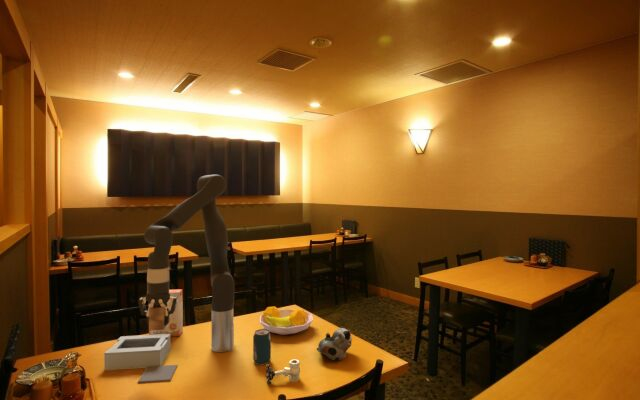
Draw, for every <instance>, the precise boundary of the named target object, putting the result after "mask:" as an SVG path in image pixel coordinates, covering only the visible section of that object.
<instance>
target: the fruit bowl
mask: <svg viewBox="0 0 640 400" xmlns="http://www.w3.org/2000/svg"><path fill="white" fill-rule="evenodd" d="M313 321H314V319H313V313H310V312H308V311H305V310H304V309H291V308H290V309H289V308H283V309H278V307H276V306H267V307H266V308H265V310H264V311H263V313H262V314H261V315H260V316H259V322H260V325H261V326H262V327H263V329H266V330H269V333H275V334H277V335H281V336H286V335H291V334H297V333H301V332H303V331H306V330H308V328H309V327H310V325H311V324H312V323H313Z"/></svg>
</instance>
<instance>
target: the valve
mask: <svg viewBox="0 0 640 400" xmlns="http://www.w3.org/2000/svg"><path fill="white" fill-rule="evenodd" d="M300 363H301V361H299V360H298V359H291V360H289V365H288V366H289V367H288V366H287V367H284V368H283V369H282V370H281V369H279V370H276V371H275V370H274V369H273V368H272V367H271V364H265V365H266V366H265V367H266V368H265V372H266V376H265V377H266V384H267V385H271V384H272V381H273V379H274V377H275V376H276V375H277V376H284V377H288V379H289V381H291V382H295V383H296V382H299V379H300V375H301V367H300V365H301V364H300Z"/></svg>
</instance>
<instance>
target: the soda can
mask: <svg viewBox="0 0 640 400" xmlns="http://www.w3.org/2000/svg"><path fill="white" fill-rule="evenodd" d="M271 337H272V335H271V332H269V330H266V329H265V328H261V329H257V330H255V331H254V334H253V336H252V338H253V339H252V340H253V341H252V342H253V343H252V345H253V346H252V348H253V349H252V352H253V353H252V355H253V356H252V359H253V362H254V363H255V364H256V365H260V366H261V365H262V366H263V365H268V363H269V362H270V361H271V358H272V357H271V355H272V354H271V353H272V351H271V350H272V349H271V347H272V345H271V343H272V342H271V341H272V339H271Z"/></svg>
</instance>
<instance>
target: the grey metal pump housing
mask: <svg viewBox="0 0 640 400" xmlns="http://www.w3.org/2000/svg"><path fill="white" fill-rule="evenodd" d="M352 341H353V337H352V333H351V329H346V328H342V327H339V328H337V329H336V330H334V331H333V333H332V335H331V334H330V333H329V332H326V334H325V337H324V338H322V339H321V340H319V343H318V346H317V347H316V351H317V352H319V353H321V354H322V355H324V356H326V357H327V358H328V359H329V360H333V361H337V362H338V363H340V362H341V361H343V360H344V359H345V358H346V356H347V351H348V350H349V349H350V348H351V346H352Z"/></svg>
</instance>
